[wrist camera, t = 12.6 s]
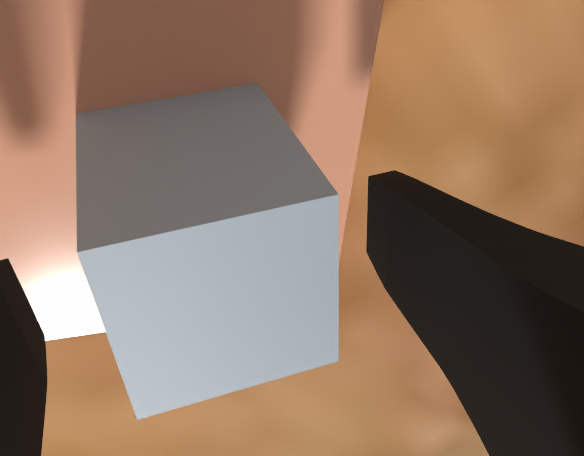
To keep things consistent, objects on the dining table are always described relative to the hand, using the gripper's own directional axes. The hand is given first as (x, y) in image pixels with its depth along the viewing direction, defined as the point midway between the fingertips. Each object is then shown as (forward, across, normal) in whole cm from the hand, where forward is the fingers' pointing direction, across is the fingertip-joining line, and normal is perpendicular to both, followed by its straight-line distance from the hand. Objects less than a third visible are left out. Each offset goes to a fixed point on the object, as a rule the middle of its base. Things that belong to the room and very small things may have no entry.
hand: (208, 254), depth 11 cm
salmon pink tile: (+4, 0, 0) cm, 4 cm away
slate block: (+3, 0, 0) cm, 3 cm away
